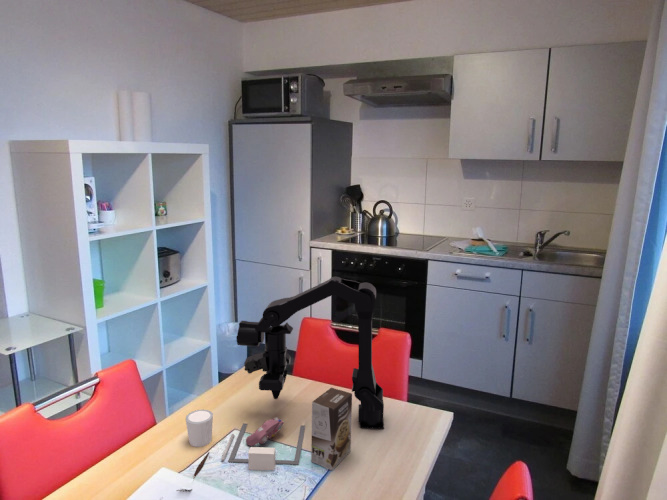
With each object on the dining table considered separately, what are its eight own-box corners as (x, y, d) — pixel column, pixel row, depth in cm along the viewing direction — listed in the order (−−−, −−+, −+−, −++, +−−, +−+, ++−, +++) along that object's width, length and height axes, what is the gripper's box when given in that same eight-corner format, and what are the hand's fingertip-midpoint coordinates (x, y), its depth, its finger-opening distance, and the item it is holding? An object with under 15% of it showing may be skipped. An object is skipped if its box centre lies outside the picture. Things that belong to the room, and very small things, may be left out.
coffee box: (332, 471, 113) (333, 409, 109) (310, 462, 116) (310, 401, 113) (351, 451, 120) (353, 393, 117) (330, 443, 124) (331, 386, 120)
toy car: (254, 455, 121) (263, 437, 118) (243, 442, 123) (251, 424, 120) (280, 437, 129) (289, 420, 126) (269, 425, 131) (277, 408, 128)
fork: (214, 454, 119) (214, 447, 119) (187, 499, 103) (186, 491, 103) (204, 453, 119) (204, 446, 119) (175, 498, 104) (175, 490, 103)
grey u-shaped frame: (305, 426, 131) (305, 411, 130) (297, 471, 112) (297, 454, 112) (236, 424, 132) (236, 409, 131) (217, 468, 113) (217, 452, 112)
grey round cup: (205, 429, 129) (204, 406, 127) (219, 440, 124) (218, 416, 123) (181, 440, 124) (180, 415, 123) (195, 451, 119) (193, 426, 118)
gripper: (253, 333, 141) (254, 382, 145) (238, 360, 123) (240, 415, 126) (290, 334, 141) (290, 383, 144) (281, 361, 123) (282, 416, 126)
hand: (276, 398), depth 135 cm, fingers closed
